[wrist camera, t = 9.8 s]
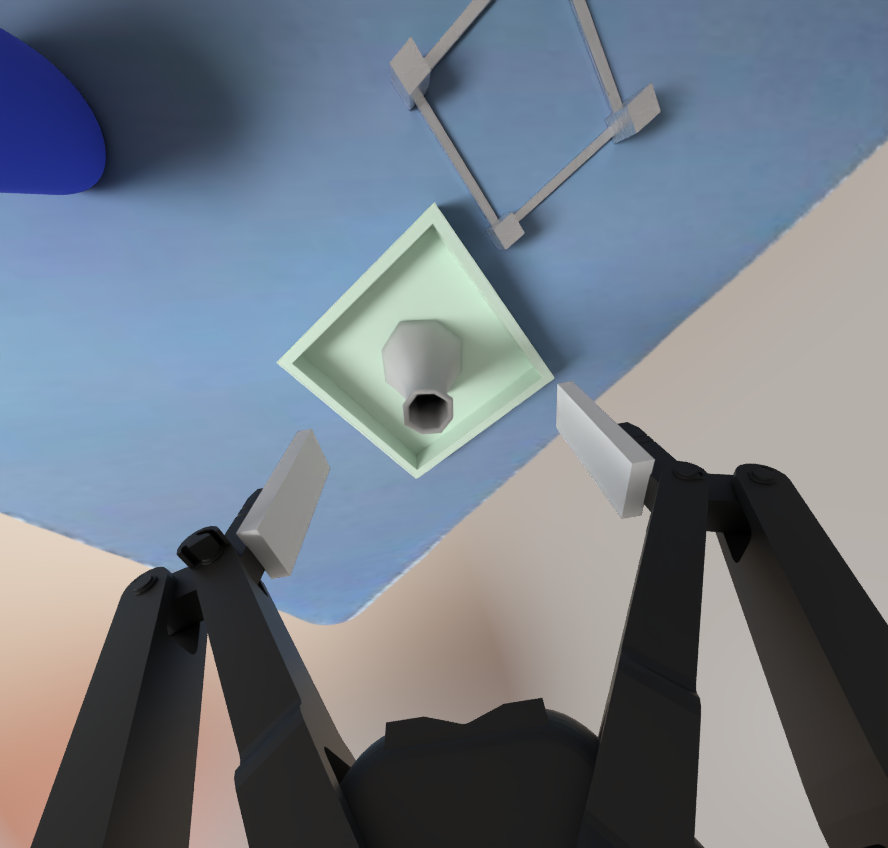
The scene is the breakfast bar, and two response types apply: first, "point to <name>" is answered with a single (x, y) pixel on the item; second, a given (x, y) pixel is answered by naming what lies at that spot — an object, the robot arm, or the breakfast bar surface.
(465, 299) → the bin
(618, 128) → the socket
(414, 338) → the flask
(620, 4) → the breakfast bar surface
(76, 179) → the mug
